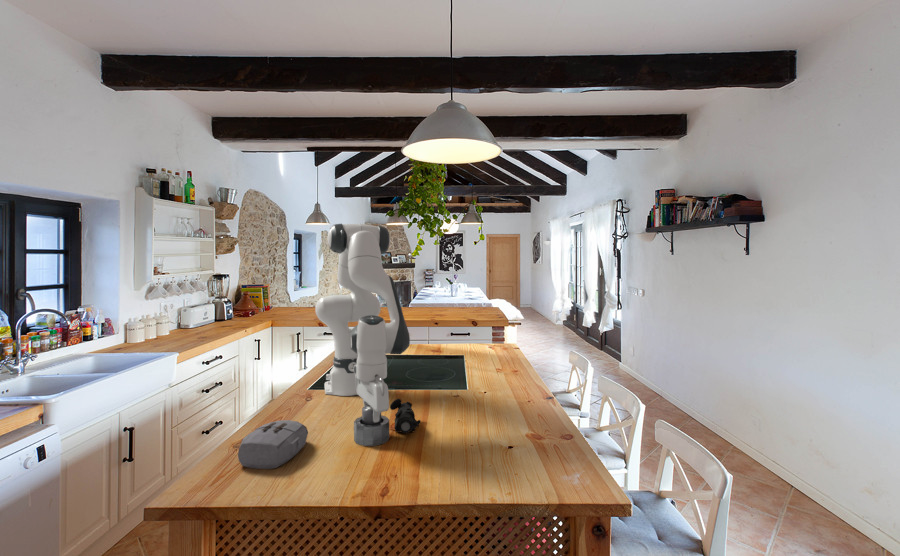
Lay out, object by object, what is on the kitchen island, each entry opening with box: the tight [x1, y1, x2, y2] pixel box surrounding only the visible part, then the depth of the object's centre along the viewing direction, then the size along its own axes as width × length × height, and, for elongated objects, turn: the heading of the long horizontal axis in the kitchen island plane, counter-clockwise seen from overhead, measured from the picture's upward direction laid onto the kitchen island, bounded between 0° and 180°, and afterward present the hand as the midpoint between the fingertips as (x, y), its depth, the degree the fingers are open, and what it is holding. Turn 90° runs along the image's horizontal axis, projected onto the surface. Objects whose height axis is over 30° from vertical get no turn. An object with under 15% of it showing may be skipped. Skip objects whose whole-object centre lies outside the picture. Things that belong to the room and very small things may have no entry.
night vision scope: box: [389, 398, 421, 434], centre depth 140 cm, size 8×18×10 cm
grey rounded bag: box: [237, 419, 309, 470], centre depth 122 cm, size 15×8×20 cm
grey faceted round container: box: [353, 414, 390, 447], centre depth 132 cm, size 10×10×6 cm
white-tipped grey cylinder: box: [361, 405, 382, 425], centre depth 132 cm, size 6×6×5 cm
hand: (371, 417), depth 132 cm, fingers closed on white-tipped grey cylinder, 6 cm apart
